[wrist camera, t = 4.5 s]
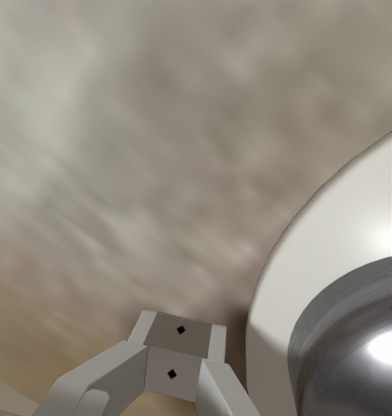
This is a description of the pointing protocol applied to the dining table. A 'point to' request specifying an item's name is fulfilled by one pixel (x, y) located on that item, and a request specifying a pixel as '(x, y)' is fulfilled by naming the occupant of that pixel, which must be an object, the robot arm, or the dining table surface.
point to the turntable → (316, 266)
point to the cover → (345, 346)
